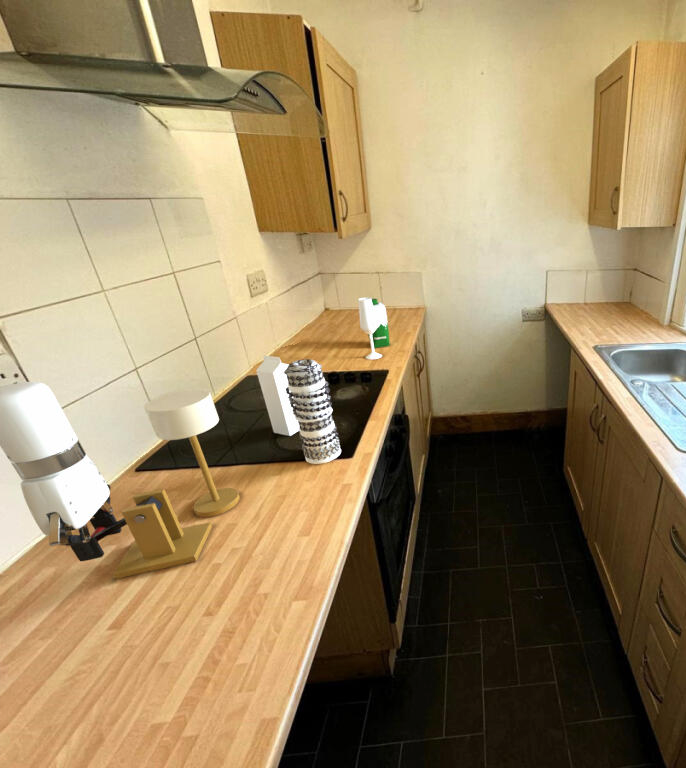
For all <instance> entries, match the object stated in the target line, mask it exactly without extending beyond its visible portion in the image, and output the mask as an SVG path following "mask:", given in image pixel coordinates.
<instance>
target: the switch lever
mask: <svg viewBox="0 0 686 768" xmlns="http://www.w3.org/2000/svg"><path fill="white" fill-rule="evenodd" d="M153 503H155V505H156V507H157V509H158V511H159V509H160V508H161V506H162V505H163V504H161V503H160V502H159V501H158V500H156V499H155V498H154V497H152V496H151V497H149V498H148V499H146V500H144V501H142V502H141V503H139V504H137V505H136V504H135V505H136V506H142V505H147V504H153ZM136 506H135V507H136ZM125 526H128V525H127V523H126V521H125V519H124V517H123V518H121V519H119V520H117V522H116V523H114V524H112V525H110V526H109V527H107V528H105V527H103V526H100V527H98V528H96V530H95V529H94V531H93V532H92V533H91V534H90V537H95V538H96V540H97V542H98V543H99V541H101V540H103V539H105V538H106V537H109V536H110V535H109V534H111V533H113V532H115V531H116V530H118V529H120V528H121V529H122V528H123V527H125Z"/></svg>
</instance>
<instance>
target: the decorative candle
mask: <svg viewBox="0 0 686 768" xmlns="http://www.w3.org/2000/svg"><path fill="white" fill-rule="evenodd" d="M322 368H323V365H322V364H321V363H318V362H317V361H316V360H314V359H311V358H306V359H305V358H304V359H303V358H302V359H297V360H294V361H292V362H290V363H289V365H288V367H287V369H285V371H284V374H286V376H287V380H288V387H287V388H286V393H287V394H289V396H288V399H289V401H290V404H291V405H290V406H291V407H292V408H293V410H292V411H293V414H294V415H295V419H296V420H297V421H298V423H299V431H298V432H299V435H298V436H299V439H300V443H301V445H302V448H301V449H302V451H303V456H304V458H305V461H306V462H307V463H309V464H311V465H321V464H326V463H329V462H331V461H333V460H336V459H337V458H338V457H339V456H340V455H341V453H342V449H341V445H340V439H339V437H338V435H339V433H338V430H337V429H338V428H337V426H336V425H335V421H334V419H333V415H332V413H333V411H334V410H333V408H332V405H333V403H332V401H331V399H332V397H331V395H330V394H329V393H330V391H331V390H330V388H329V386H330V383H329V382H328V381H326V379H325V377H324V373H323V370H322ZM289 390H290V391H289ZM292 397H293V398H292ZM293 404H294V405H295V406H294V405H293Z"/></svg>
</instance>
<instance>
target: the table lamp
mask: <svg viewBox="0 0 686 768" xmlns="http://www.w3.org/2000/svg"><path fill="white" fill-rule="evenodd" d="M144 410H145V413H146V414H147V417H148V419H149V422H150V424H151V427H152V429H153V431H154V433H155V436H156V438H157V439H159V440H161V441H162V440H163V441H177V440H184V439H187V438H188V439H189V442H190V445H191V446H192V450H193V453H194V455H195V459H196V461H197V463H198V466H199V468H200V472H201V473H202V476H203V479H204V482H205V484H206V486H207V489H208V493H205V494H204V495H201V497H199V498H198V499H197V500H196V501H195V502H194V504H193V511H194V513H195V515H196V516H198V517H201V518H210V517H211V518H212V517H215V516H216V517H217V516H218V515H221V514H225V513H226V512H228V511H229V510H231V509H233V508H234V507H235V506H236V505H237V504H238V502H239V501H240V494H239V491H238V489H235V488H234V487H222V488H218V489H217V488H216V485H215V482H214V480H213V476H212V474H211V471H210V469H209V466H208V463H207V460H206V458H205V456H204V452H203V449H202V448H201V445H200V442H199V439H198V437H197V436H198V435H200V434H203V433H205V432H207V431H209V430H211V429H212V428H214V427H215V426H217V424H218V423H219V421H220V418H219V415H218V412H217V408H216V405H215V403H214V399H213V398H212V395H211V391H210V390H209V389H208V388H207V389H206V388H201V387H199V388H198V387H193V388H185V389H178V390H175V391H171V392H167V393H164V394H161V395H159V396H156V397H154V398H153V399H150V400H148V401H147V402H146V403H145V405H144Z"/></svg>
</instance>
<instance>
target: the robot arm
mask: <svg viewBox="0 0 686 768" xmlns="http://www.w3.org/2000/svg"><path fill="white" fill-rule="evenodd" d="M0 448H1V450H2V451H3V452H4V454H5V456H6V457H7V459H8V460H9V462H10V464H11V466H12V467H13V469H14V470H15V471H16V473H17V474H18V476H19V478H20V479H21V480H22V481H21V482H20V487H21V491H22V495H23V498H24V500H25V504H26V506H27V508H28V510H29V512H30V513H31V516H32V517H33V520H34V521H35V523H36V525H37V527H38V528H39V530H40V531H41V532H42V534H43V535H44V536H48V538H49V539H48V544H49V546H50V547H56V546H65V547H69V548H71V550H72V551H73V553H74V554H75V556H76V558H77V559H78V561H79V562H87V561H91V560H95V559H100V558H103V556H104V555H105V552H104V550H103V548H102V546H101V545H100V543H99V541H98V542H97V540H96V538H95V537H90V536H91V533H90V530H89V528H88V527H89V526H88V522H90V524H91V526H92V527H93V529H94V531H95V530H96V528H98V527H100V526H103V527H105V528H107V527H109V526H110V525H112V524H114V523H116V522H117V521H118V520H117V519H116V516H115V515H114V513H113V512H114V507H113V506H112V505H111V495H110V494H111V487H112V486H111V485H110V484H108V483H107V482H106V480H105V478H104V476H103V475H102V473H101V472H100V470H99V469H98V467H97V465H96V464H95V463H94V462H93V460H92V459H91V458H90V457H89V455H88V454H87V453H86V450H85V449H84V447H83V445H82V443H81V442H80V440H79V438H78V436H77V434H76V433H75V431H74V429H73V427H72V424H71V423H70V421H69V420H68V417H67V416H66V414H65V412H64V411H63V408H62V407H61V405H60V403H59V401H58V400H57V398H56V396H55V394H54V392H53V390H52V389H51V388H50V386H49V385H47V384H45V383H43V382H39V381H21V382H15V383H11V384H5V385H1V386H0ZM77 530H78V533H79V534H73V532H72V531H77ZM121 532H122V528H120V529H118V530H116V531H115V532H113V533H111V534H109V535H108V536H113V535H118V534H120V533H121Z"/></svg>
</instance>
